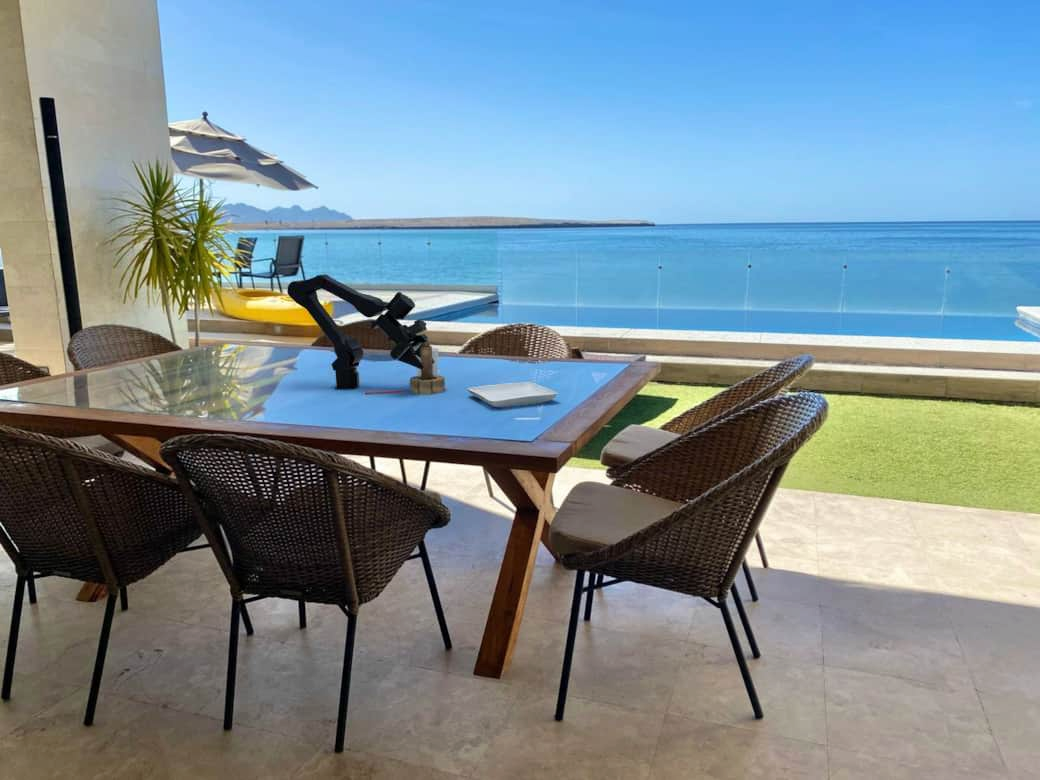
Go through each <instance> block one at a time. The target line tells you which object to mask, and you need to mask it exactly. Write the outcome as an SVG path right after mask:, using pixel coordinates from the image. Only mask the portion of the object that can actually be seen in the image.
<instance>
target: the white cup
mask: <svg viewBox="0 0 1040 780" xmlns="http://www.w3.org/2000/svg"><path fill="white" fill-rule="evenodd" d="M416 357H417V358H418V359H419V361H420V362H421V358H420V357H418V356H416ZM432 358H433V360H434V363H433V375H439V372H438V371H439V348H437V347H432ZM415 368H416V372H417V374H416V376H420V375H421V369H419V368H417V367H415Z"/></svg>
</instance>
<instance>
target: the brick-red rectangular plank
mask: <svg viewBox="0 0 1040 780" xmlns="http://www.w3.org/2000/svg"><path fill="white" fill-rule="evenodd" d="M396 392H401V393H405V390H404V389H402V390H401V389H399V390H381V391H365V392H364V395H373V394H372V393H381V394H394V393H396Z"/></svg>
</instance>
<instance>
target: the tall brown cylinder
mask: <svg viewBox="0 0 1040 780" xmlns="http://www.w3.org/2000/svg"><path fill="white" fill-rule="evenodd" d="M432 348H433V346H432V345H430V343H429V341H428V342H424V343H423V344H422V346H420V355H421V363H422V365H423V366H424V368H423V369H421V379H422V380H432V379H433V364H432Z"/></svg>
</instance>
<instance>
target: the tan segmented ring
mask: <svg viewBox="0 0 1040 780" xmlns="http://www.w3.org/2000/svg"><path fill="white" fill-rule="evenodd" d="M445 390H446V381H445V376H443V375H439V374H438V375H433V379H432V380H422V379H421V375H420V376H418V375H414V376H412V377H411V378H409V392H410V393H411V392H412V394H415V393H416V395H435V394H441V393H443V391H444V392H445ZM440 392H441V393H440Z"/></svg>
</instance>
